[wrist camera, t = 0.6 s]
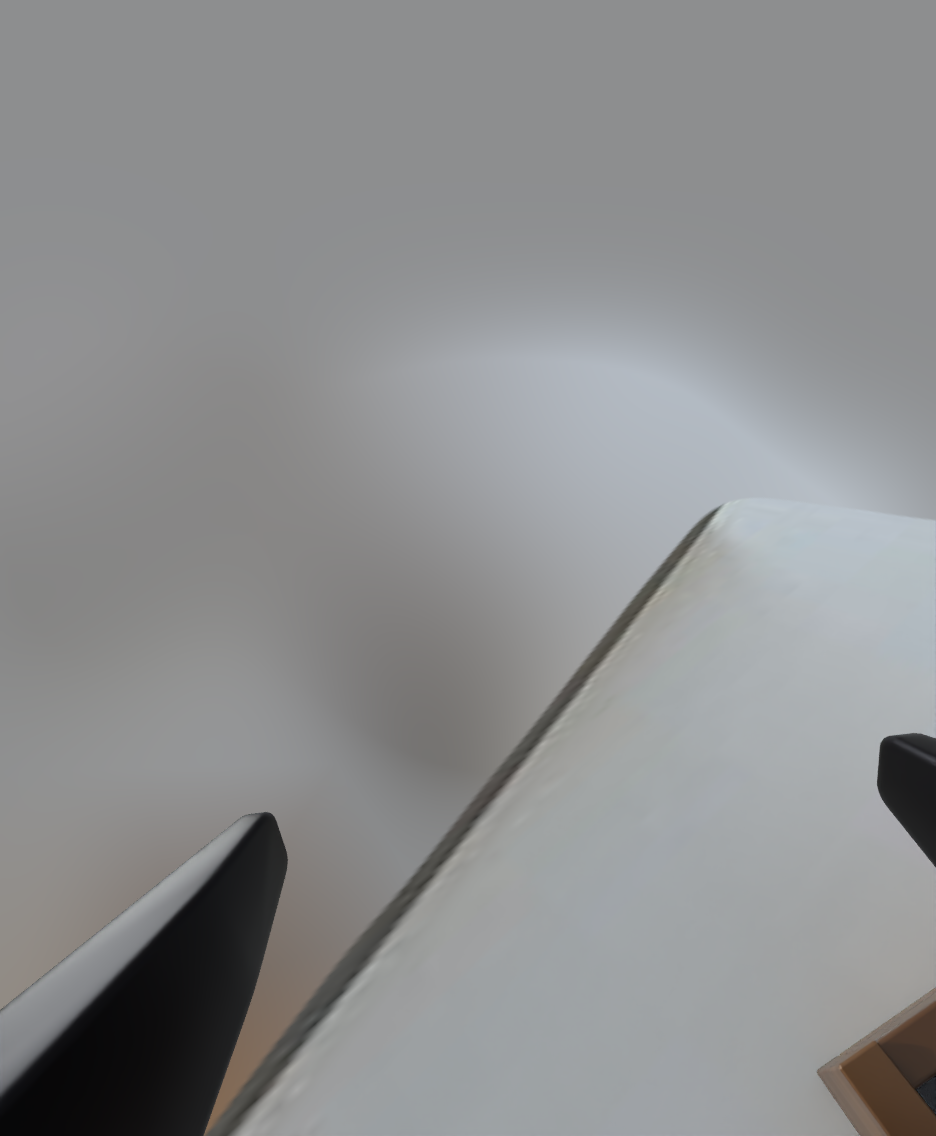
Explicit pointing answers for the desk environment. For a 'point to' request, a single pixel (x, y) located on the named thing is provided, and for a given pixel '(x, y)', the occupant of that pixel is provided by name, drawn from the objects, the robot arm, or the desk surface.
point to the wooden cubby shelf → (889, 1074)
